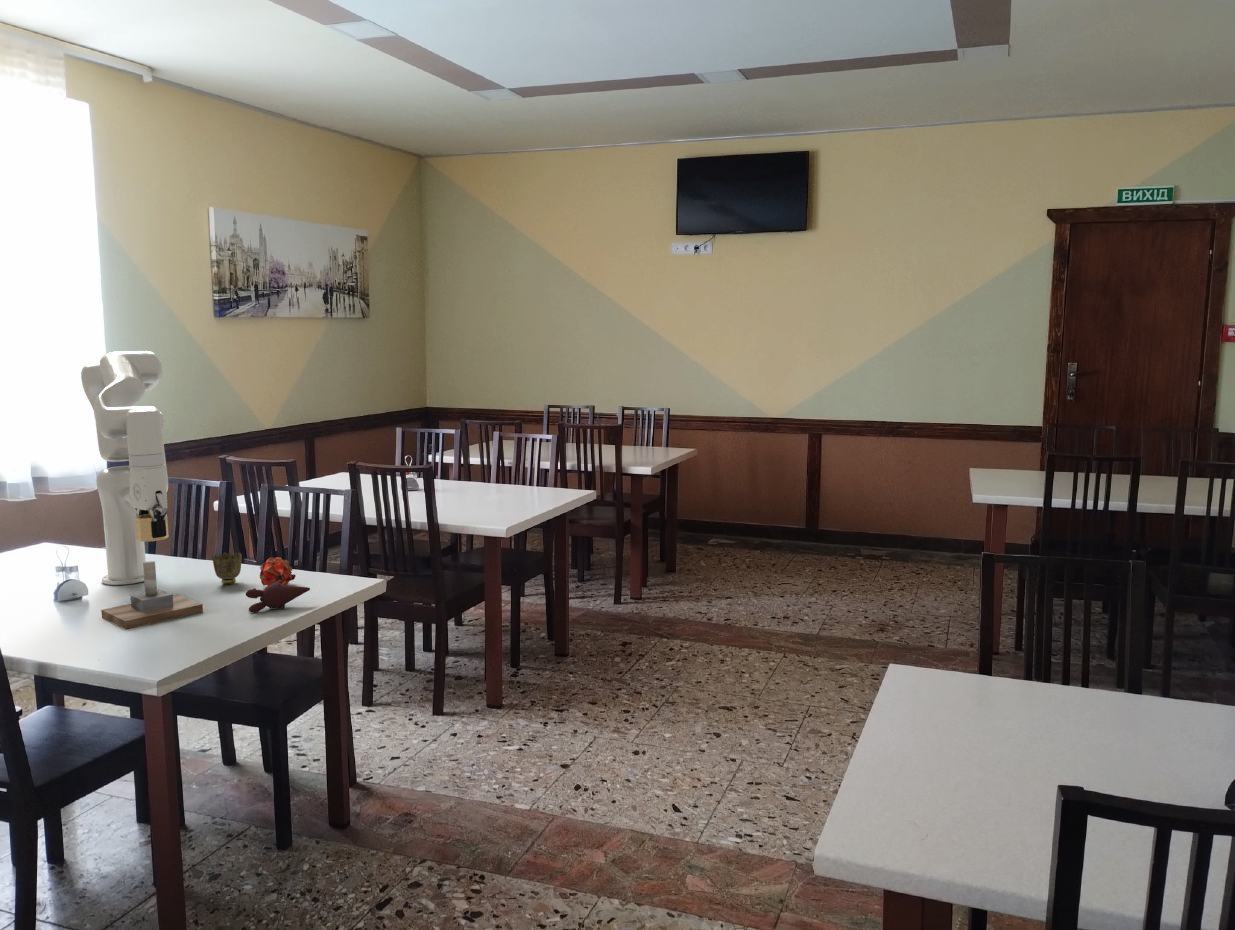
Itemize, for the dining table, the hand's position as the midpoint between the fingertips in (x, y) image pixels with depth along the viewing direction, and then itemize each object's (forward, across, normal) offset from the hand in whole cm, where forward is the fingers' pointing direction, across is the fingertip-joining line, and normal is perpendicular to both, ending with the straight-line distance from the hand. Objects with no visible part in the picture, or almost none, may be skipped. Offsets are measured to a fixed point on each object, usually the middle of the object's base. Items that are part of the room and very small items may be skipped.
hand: (152, 534), depth 227 cm
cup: (+20, -14, +25) cm, 35 cm away
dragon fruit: (+20, 0, +32) cm, 37 cm away
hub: (+1, 0, 0) cm, 1 cm away
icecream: (+20, +18, +21) cm, 34 cm away
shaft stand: (+20, 0, -1) cm, 20 cm away
